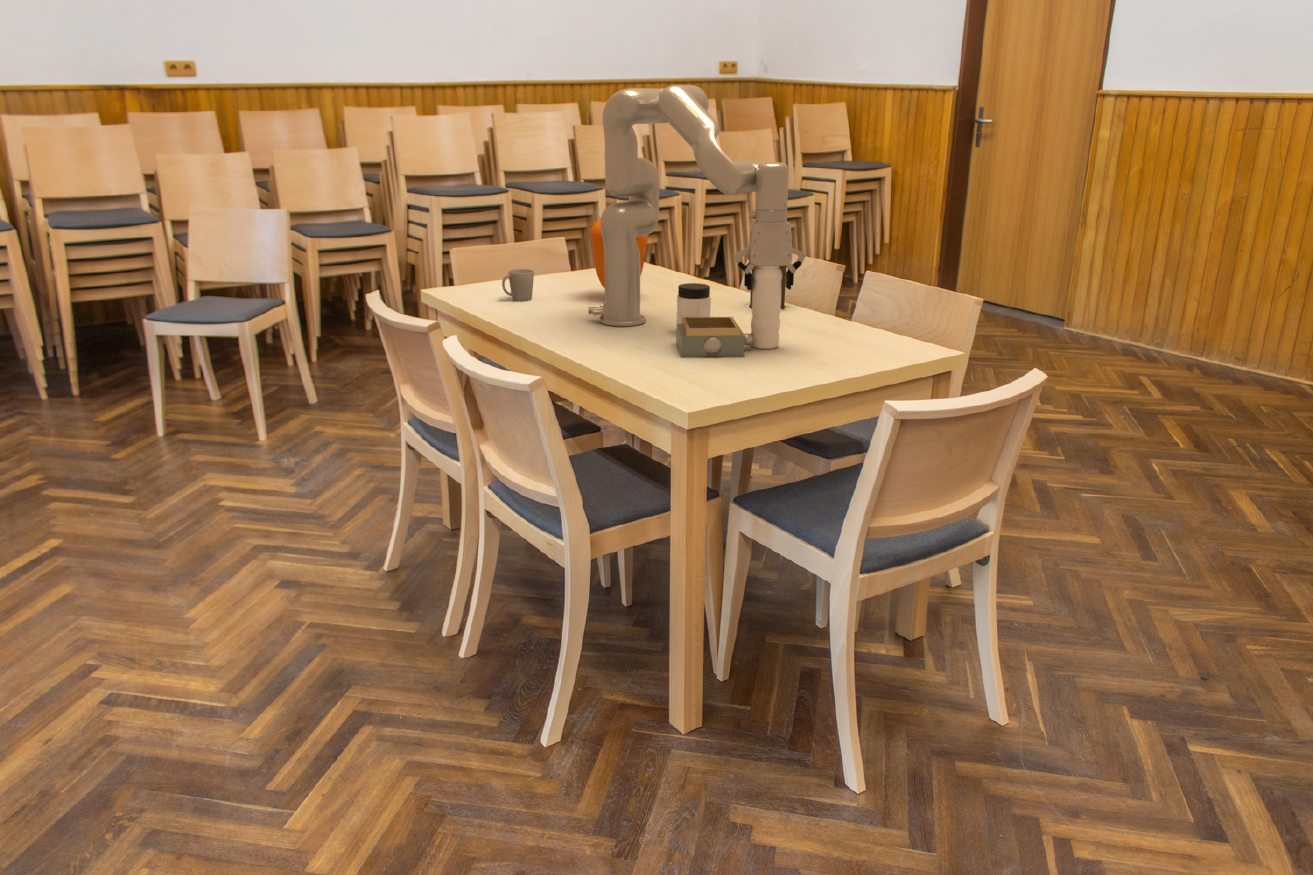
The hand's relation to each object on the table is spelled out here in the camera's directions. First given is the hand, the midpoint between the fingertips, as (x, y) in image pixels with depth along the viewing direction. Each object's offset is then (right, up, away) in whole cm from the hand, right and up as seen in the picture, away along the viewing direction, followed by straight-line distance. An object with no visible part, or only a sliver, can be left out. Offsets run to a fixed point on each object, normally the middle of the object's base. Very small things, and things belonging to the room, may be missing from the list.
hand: (768, 289), depth 234 cm
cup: (-68, +5, +55) cm, 88 cm away
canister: (+5, +2, +49) cm, 49 cm away
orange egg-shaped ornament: (-38, +6, +58) cm, 70 cm away
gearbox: (-13, -15, +1) cm, 19 cm away
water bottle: (-1, -14, +5) cm, 15 cm away
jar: (-18, -8, +19) cm, 27 cm away
